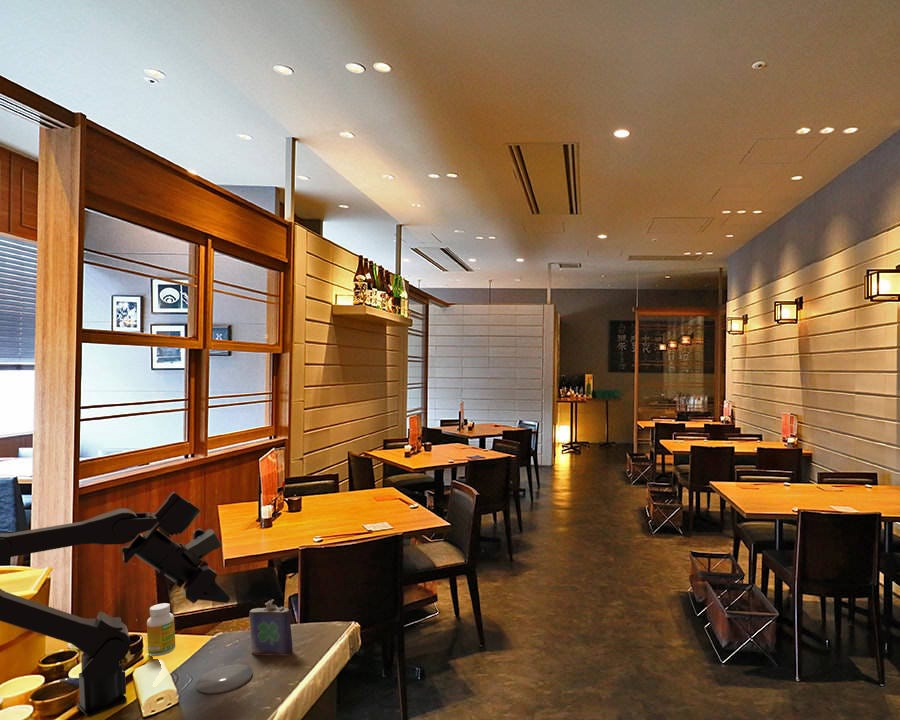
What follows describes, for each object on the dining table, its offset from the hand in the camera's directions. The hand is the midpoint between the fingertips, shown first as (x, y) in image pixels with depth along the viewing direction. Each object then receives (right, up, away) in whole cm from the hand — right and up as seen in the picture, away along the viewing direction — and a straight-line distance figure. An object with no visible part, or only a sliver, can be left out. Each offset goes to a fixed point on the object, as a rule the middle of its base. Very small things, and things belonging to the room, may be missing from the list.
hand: (226, 597), depth 120 cm
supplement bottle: (-17, -15, +9) cm, 25 cm away
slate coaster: (+2, -13, -7) cm, 15 cm away
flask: (+8, -13, +4) cm, 16 cm away
